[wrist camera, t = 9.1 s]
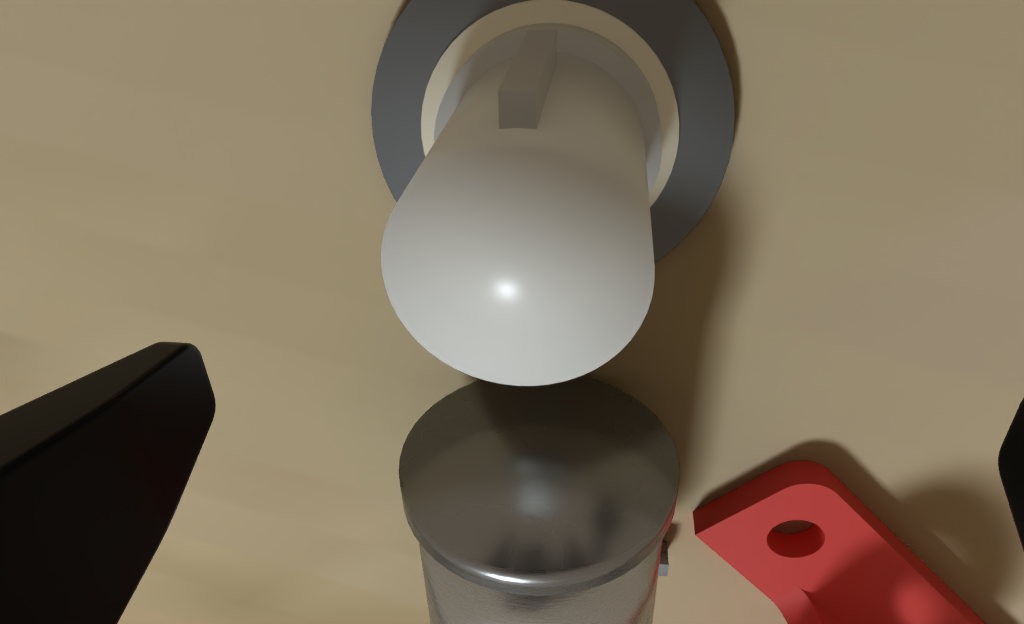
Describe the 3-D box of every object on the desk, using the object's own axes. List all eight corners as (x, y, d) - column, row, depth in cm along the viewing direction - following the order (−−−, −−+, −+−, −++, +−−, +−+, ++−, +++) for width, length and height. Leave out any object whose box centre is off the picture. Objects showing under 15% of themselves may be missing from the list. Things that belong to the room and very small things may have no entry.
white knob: (651, 239, 19) (665, 411, 13) (450, 232, 20) (378, 394, 14) (670, 12, 16) (699, 106, 10) (432, 13, 17) (332, 103, 11)
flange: (759, -72, 16) (763, -69, 15) (709, 291, 20) (711, 300, 20) (352, -64, 17) (345, -62, 16) (396, 279, 21) (392, 287, 21)
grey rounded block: (687, 378, 22) (714, 586, 16) (665, 553, 26) (679, 770, 20) (416, 364, 23) (342, 554, 17) (437, 534, 27) (384, 736, 21)
